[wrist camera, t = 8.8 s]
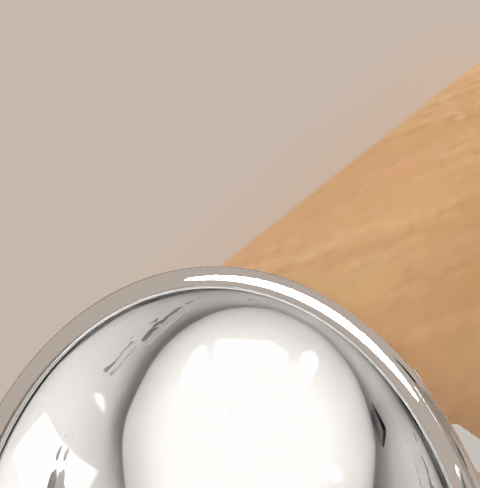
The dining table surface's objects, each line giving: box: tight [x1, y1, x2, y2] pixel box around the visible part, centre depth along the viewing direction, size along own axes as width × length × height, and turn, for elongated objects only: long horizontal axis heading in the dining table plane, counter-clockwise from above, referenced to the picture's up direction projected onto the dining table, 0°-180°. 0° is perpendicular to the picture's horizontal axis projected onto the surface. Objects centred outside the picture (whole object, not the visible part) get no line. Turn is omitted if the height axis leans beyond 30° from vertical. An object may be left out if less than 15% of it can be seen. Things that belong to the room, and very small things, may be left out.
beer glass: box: [0, 266, 480, 488], centre depth 10 cm, size 7×7×15 cm
